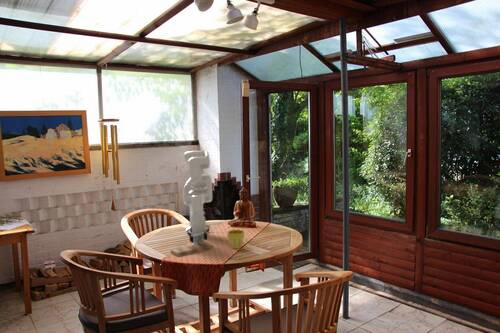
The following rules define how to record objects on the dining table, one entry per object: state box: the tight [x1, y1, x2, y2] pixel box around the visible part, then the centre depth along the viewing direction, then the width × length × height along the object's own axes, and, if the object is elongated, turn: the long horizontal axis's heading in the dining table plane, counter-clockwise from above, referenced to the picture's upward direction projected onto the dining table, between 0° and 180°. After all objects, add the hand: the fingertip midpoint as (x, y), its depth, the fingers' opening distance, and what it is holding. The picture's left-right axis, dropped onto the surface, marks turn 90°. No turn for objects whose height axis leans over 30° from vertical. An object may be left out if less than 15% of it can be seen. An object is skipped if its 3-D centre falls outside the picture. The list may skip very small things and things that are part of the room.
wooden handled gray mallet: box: [193, 234, 210, 246], centre depth 256 cm, size 5×13×7 cm, turn 36°
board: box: [170, 243, 214, 257], centre depth 250 cm, size 24×9×2 cm, turn 126°
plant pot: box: [227, 229, 245, 249], centre depth 254 cm, size 10×10×10 cm
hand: (198, 241), depth 260 cm, fingers open, 9 cm apart
